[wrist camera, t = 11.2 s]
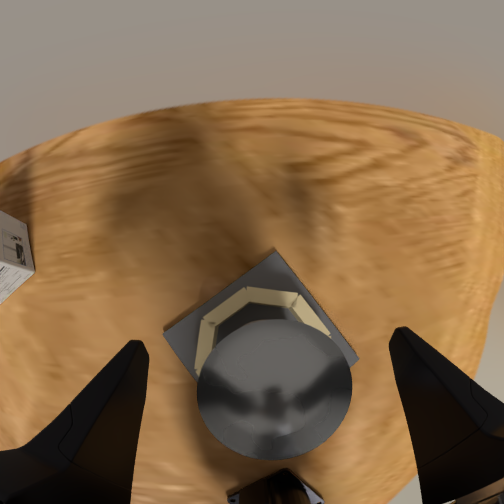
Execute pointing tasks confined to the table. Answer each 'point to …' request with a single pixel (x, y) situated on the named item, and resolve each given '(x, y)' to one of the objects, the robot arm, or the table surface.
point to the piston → (274, 389)
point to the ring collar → (250, 313)
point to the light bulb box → (13, 255)
